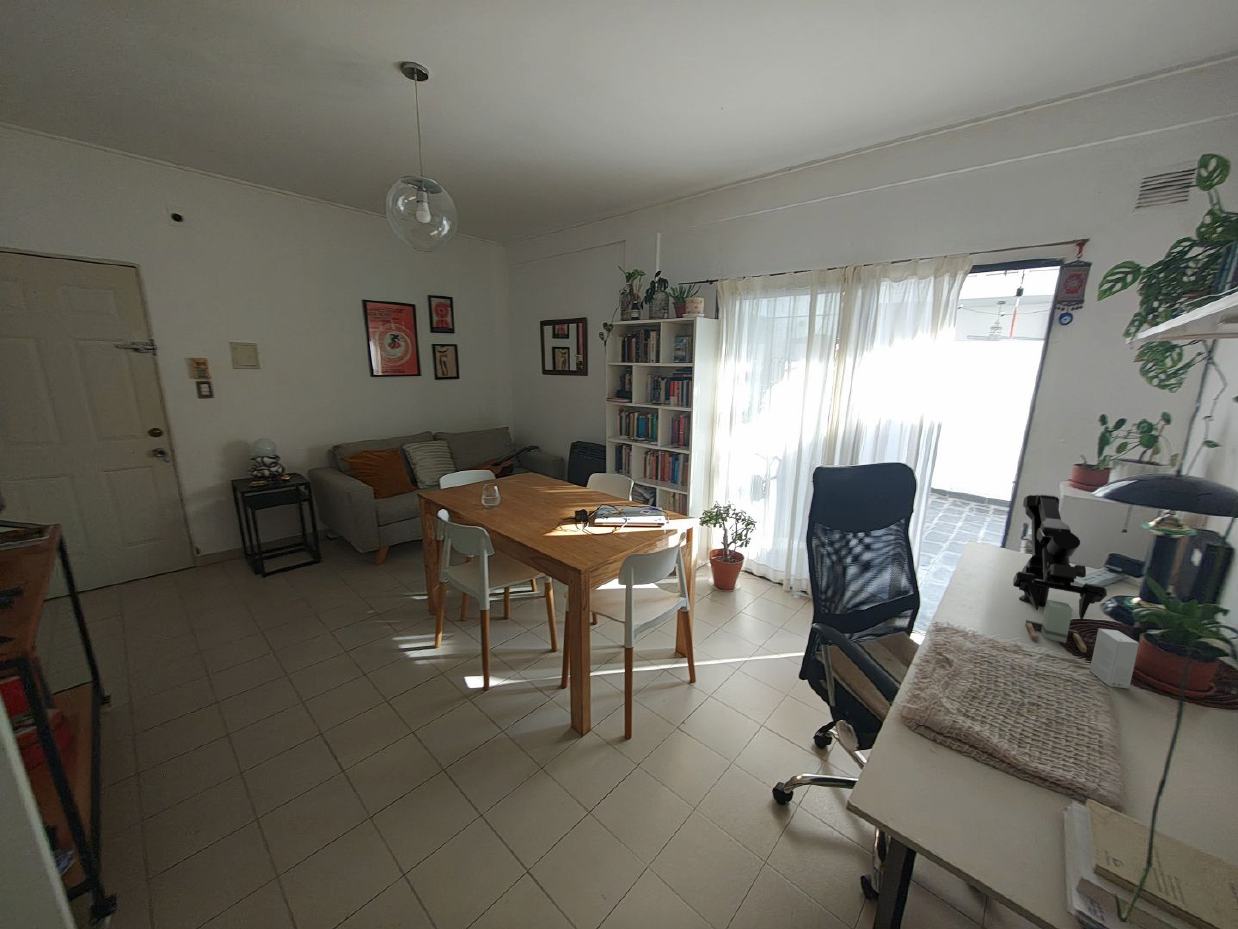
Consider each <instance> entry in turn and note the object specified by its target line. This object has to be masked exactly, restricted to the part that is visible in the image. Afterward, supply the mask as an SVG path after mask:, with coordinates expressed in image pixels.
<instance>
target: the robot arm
mask: <svg viewBox="0 0 1238 929" xmlns="http://www.w3.org/2000/svg"><path fill="white" fill-rule="evenodd" d="M1022 506H1023V508H1025V515H1026V516H1027V517H1028V519H1030V520H1031V557H1030V558H1029V560H1028V561H1027V563H1026V564H1025V565H1024V566H1023V568H1022V570H1021V571H1017V572H1016V574H1015V576H1014V577H1013V581H1012V583H1013V584H1012V586H1014V587H1015V588H1018V590H1019V591H1022V592H1024V594H1023V595H1021V596H1019V598H1018V599H1019V600H1021V601H1024V602H1027V603H1029V604H1032V606H1033V608H1034V610H1035V611H1039V607H1042V608H1045V606H1046V601H1047V600H1049V599H1048V598H1049V592H1050V589H1053V590H1059V591H1064V592H1071V593H1076V594H1079V597H1080V598H1079V599H1078V608H1079V609H1078V615H1079V620H1083V619H1084V617H1085V615H1086V613H1087V610H1088V608H1089V606H1090V605H1094V604H1096V603H1101V602H1102V601H1103V600H1104V599H1105V598H1106V597H1107V595H1108V592H1107V589H1106V588H1105V586H1103V585H1099V584H1094V583H1093V584H1092V583H1089V582H1088V583H1087V582H1085V583H1084V585H1082V586H1079V585H1075V584H1074V583H1075V580H1077V578H1086V575H1087V570H1086V565H1079V564H1075V565H1074V566H1071V564H1070V563H1071V562H1070V557H1073V555H1074V553H1075V552H1076V551H1077V549H1078V548H1079V546H1080V545H1081V540H1080V538H1079V537H1078V536H1077V535H1076V534H1074V532H1072V531H1071V528H1070V527H1069V526H1070V525H1068V524H1067V523H1065V522H1063V521H1062V517H1061V513H1060V498H1059V497H1058V496H1056V495H1053V494H1043V493H1040V494H1036V495H1033V494H1029V495H1026V496H1025V497H1024V498H1023V504H1022ZM1073 584H1074V585H1073Z"/></svg>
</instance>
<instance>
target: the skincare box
mask: <svg viewBox="0 0 1238 929" xmlns="http://www.w3.org/2000/svg"><path fill="white" fill-rule="evenodd" d="M1095 638H1096V639H1095V644H1094V648H1093V654H1092V657H1091V663H1090V667H1089V672H1090V671H1091V672H1092V673H1093V674H1095V675H1097V676H1098V679H1099V680H1100V681H1101V682H1103V683H1105V685H1107V686H1108V687H1112V688H1119V689H1120V688H1122V689H1130V686H1131V681H1132V678H1133V672H1134V669H1135V666H1136V659H1137V654H1138V649H1139V646H1140V643H1139V641H1136V640H1134V639H1132V638H1131V637H1129V636H1128V635H1126V634H1124V633H1123V632H1121V631H1119V630H1118V629H1117V630H1115V629H1107V628H1098V629H1097V634H1096V637H1095ZM1091 672H1090V673H1091ZM1092 673H1091V674H1092ZM1093 674H1092V675H1093ZM1095 675H1094V676H1095Z"/></svg>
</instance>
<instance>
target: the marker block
mask: <svg viewBox="0 0 1238 929" xmlns="http://www.w3.org/2000/svg"><path fill="white" fill-rule="evenodd" d="M1072 615H1073V608H1072V607H1071V606H1070V604H1069V603H1067V602H1062V601H1057V600H1051V599H1047V601H1046V606H1045V607H1044V612H1043V617H1042V622H1041V623H1042V628H1041V630H1040V632H1041V634H1042V637H1043V639H1047V640H1052V641H1056V642H1059V643H1064V644H1067V640H1068V637H1069V636H1068V630H1069V629H1070V625H1071V620H1072Z"/></svg>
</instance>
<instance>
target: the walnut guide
mask: <svg viewBox="0 0 1238 929" xmlns="http://www.w3.org/2000/svg"><path fill="white" fill-rule="evenodd" d="M1025 628H1026V631H1027V633H1028V635H1029V638H1030V639H1031V640H1030V641H1033V642H1037V639H1038V635H1037V633H1036V631H1035V630H1038V631H1041V628H1042V622H1037V621H1033V620H1029V619H1026V620H1025ZM1068 637H1070V638H1072V639H1073V641H1074V643H1075V644H1077V645H1076V646H1077V648H1078V649H1079V651H1080V653H1083V654H1086V653H1087V650H1088V648H1087V646H1086V644H1085V642H1084V641H1083V639H1082V638H1081V636H1080V635H1079V631H1078V630H1073V629H1070V628H1069V630H1068Z"/></svg>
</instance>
